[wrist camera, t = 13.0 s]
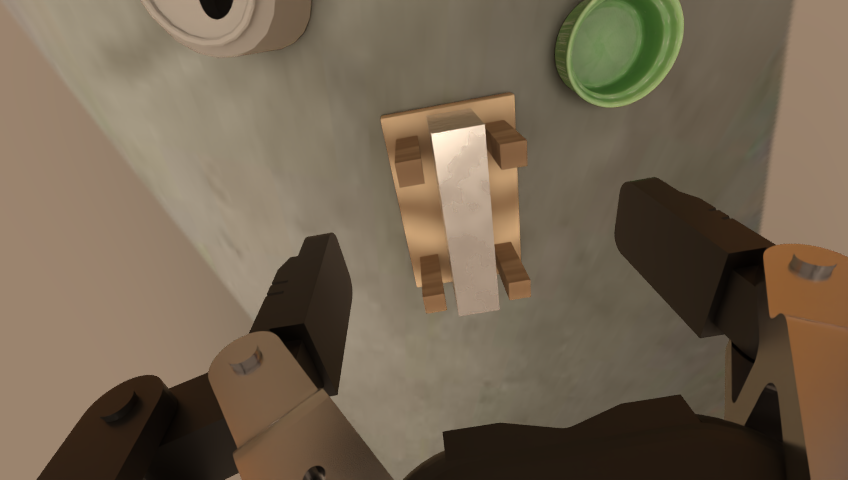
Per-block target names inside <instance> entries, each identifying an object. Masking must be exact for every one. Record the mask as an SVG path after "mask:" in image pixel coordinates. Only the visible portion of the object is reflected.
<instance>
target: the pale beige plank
mask: <svg viewBox="0 0 848 480" xmlns="http://www.w3.org/2000/svg"><path fill="white" fill-rule="evenodd" d="M426 117H427V124H428V130H429V136H430V143H431V149H432V156H433V162H434V168H435V175H436V181H437V188H438V194H439V200H440V207H441V213H442V220H443V226H444V233H445V239H446V245H447V252H448V258H449V265H450V271H451V277H452V283H453V288H454V293H455V298H456V303H457V308H458V313H459V316H464V315H470V314H476V313H482V312H489V311H495V310H500V309H499V297H498V284H497V272H496V259H495V247H494V234H493V222H492V209H491V197H490V184H489V172H488V159H487V147H486V134H485V124H484V123H483V122H482V121H481V120H480V118H479V117H478V116H477V115H476V114H475V113H474V111H473V110H472V109H471V108H468V109H463V110H457V111H451V112H446V113H440V114H435V115H429V116H426Z"/></svg>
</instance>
